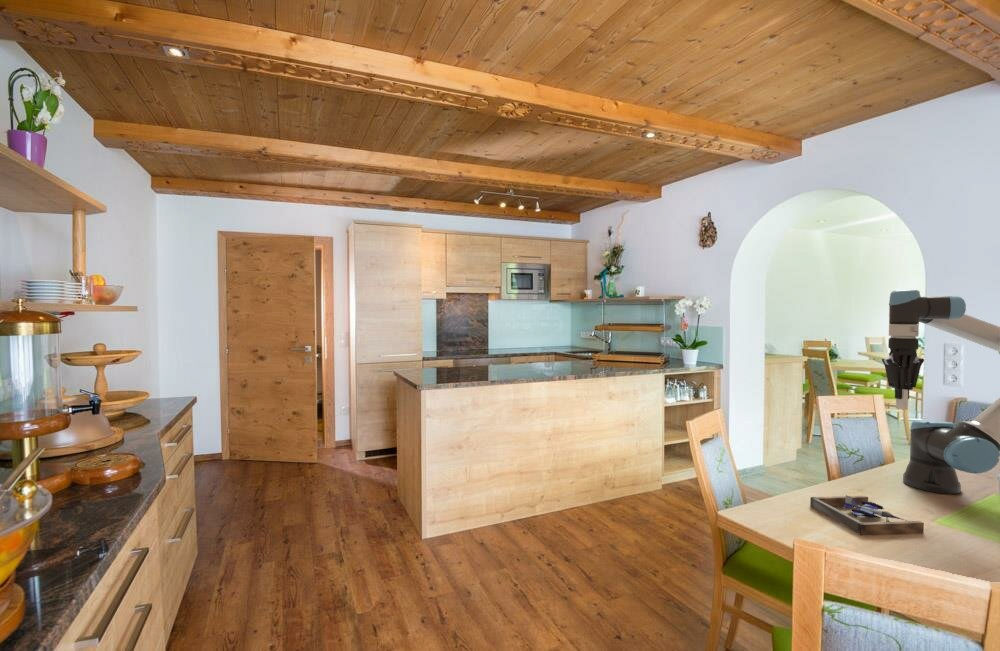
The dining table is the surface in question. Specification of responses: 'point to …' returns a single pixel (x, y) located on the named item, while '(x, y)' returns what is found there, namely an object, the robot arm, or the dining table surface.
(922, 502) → the dining table surface
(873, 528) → the frame
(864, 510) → the toy airplane
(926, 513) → the dining table surface
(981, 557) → the dining table surface
